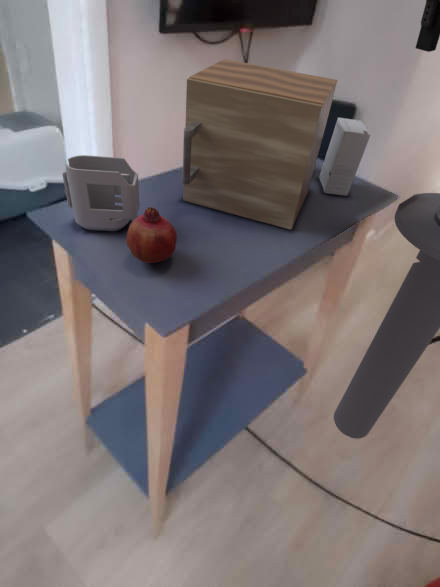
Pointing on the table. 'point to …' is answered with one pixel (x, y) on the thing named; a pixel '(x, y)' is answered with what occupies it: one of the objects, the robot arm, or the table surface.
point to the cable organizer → (101, 191)
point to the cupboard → (278, 85)
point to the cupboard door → (246, 151)
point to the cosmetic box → (343, 156)
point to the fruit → (151, 237)
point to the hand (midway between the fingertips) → (425, 49)
